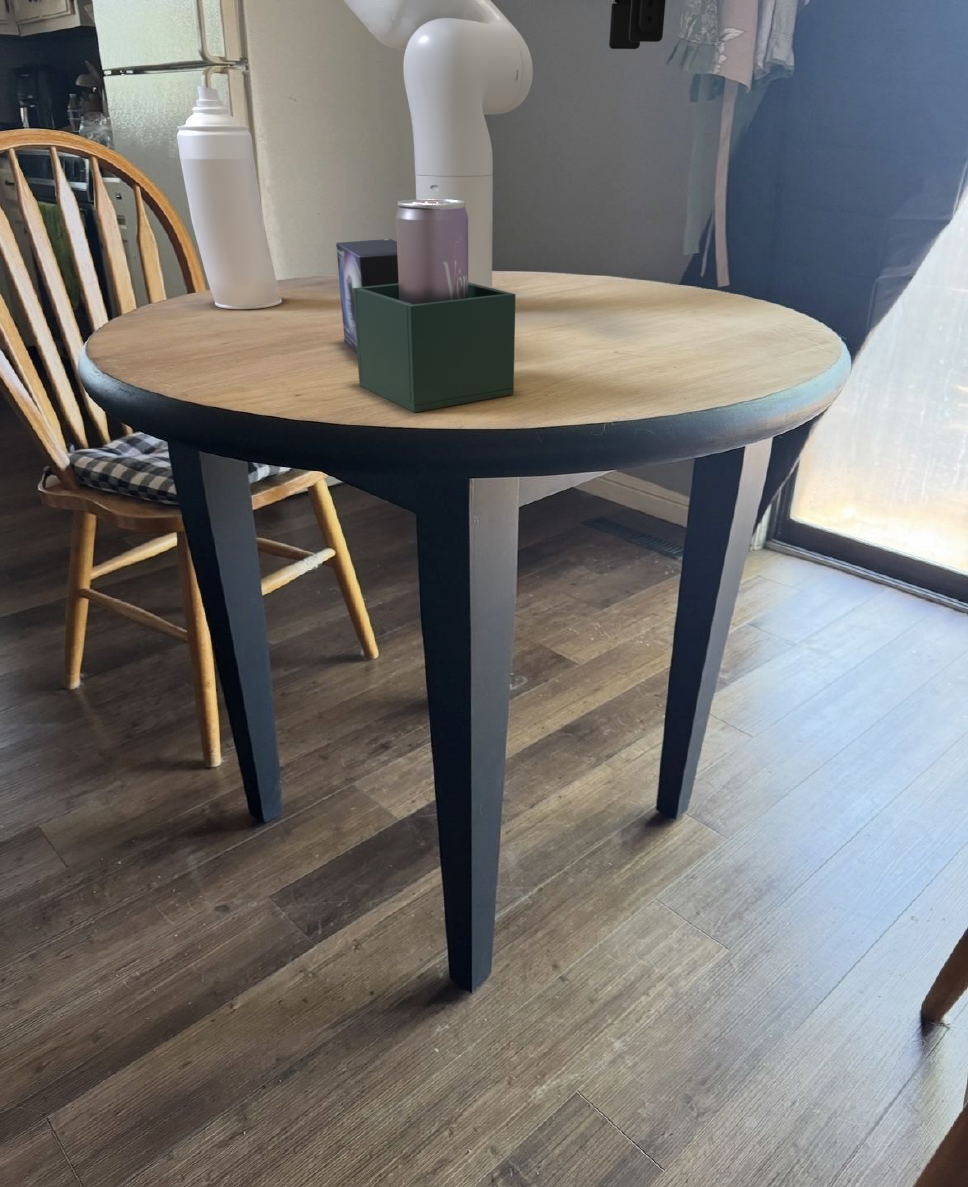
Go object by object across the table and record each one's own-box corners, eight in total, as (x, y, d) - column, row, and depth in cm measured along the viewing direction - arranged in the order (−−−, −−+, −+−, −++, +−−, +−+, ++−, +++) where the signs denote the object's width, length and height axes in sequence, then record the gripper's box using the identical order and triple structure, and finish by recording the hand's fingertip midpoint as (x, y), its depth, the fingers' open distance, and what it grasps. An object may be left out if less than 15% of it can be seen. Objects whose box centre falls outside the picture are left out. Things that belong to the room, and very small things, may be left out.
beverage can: (433, 371, 83) (429, 197, 75) (482, 381, 79) (482, 201, 72) (389, 384, 79) (380, 201, 71) (438, 395, 75) (434, 205, 68)
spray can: (291, 310, 112) (269, 84, 100) (205, 316, 108) (172, 83, 96) (276, 295, 121) (253, 87, 109) (196, 300, 118) (164, 86, 106)
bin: (359, 385, 80) (352, 287, 76) (453, 370, 85) (451, 277, 81) (414, 412, 73) (410, 306, 69) (513, 394, 78) (515, 294, 74)
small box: (340, 343, 96) (332, 240, 91) (397, 338, 98) (393, 238, 93) (363, 365, 87) (356, 253, 82) (425, 360, 89) (422, 250, 84)
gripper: (593, -149, 88) (583, 51, 96) (629, -205, 73) (614, 38, 81) (666, -147, 89) (650, 51, 97) (718, -202, 73) (694, 38, 82)
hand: (634, 45), depth 89 cm, fingers open, 9 cm apart
